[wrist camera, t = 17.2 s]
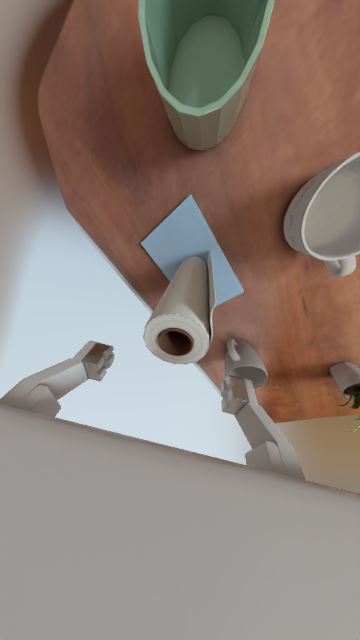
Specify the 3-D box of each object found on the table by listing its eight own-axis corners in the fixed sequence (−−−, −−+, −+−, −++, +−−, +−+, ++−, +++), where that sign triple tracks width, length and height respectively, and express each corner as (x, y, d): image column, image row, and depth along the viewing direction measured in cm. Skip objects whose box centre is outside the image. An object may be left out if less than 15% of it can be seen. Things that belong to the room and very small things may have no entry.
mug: (261, 352, 41) (273, 384, 33) (230, 361, 44) (235, 392, 37) (243, 321, 36) (253, 350, 28) (211, 334, 40) (211, 363, 32)
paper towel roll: (184, 288, 33) (157, 368, 15) (174, 261, 30) (129, 322, 12) (216, 280, 31) (229, 362, 13) (210, 249, 28) (216, 304, 10)
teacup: (279, 182, 22) (309, 167, 15) (375, 148, 19) (465, 111, 12) (273, 274, 29) (292, 290, 22) (342, 260, 26) (388, 274, 19)
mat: (141, 242, 29) (140, 243, 29) (191, 194, 24) (190, 193, 24) (196, 315, 37) (196, 316, 36) (243, 290, 32) (244, 291, 31)
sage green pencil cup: (161, 141, 21) (137, 102, 14) (172, -2, 15) (140, -199, 8) (229, 157, 21) (240, 126, 14) (266, 19, 15) (319, -162, 8)
